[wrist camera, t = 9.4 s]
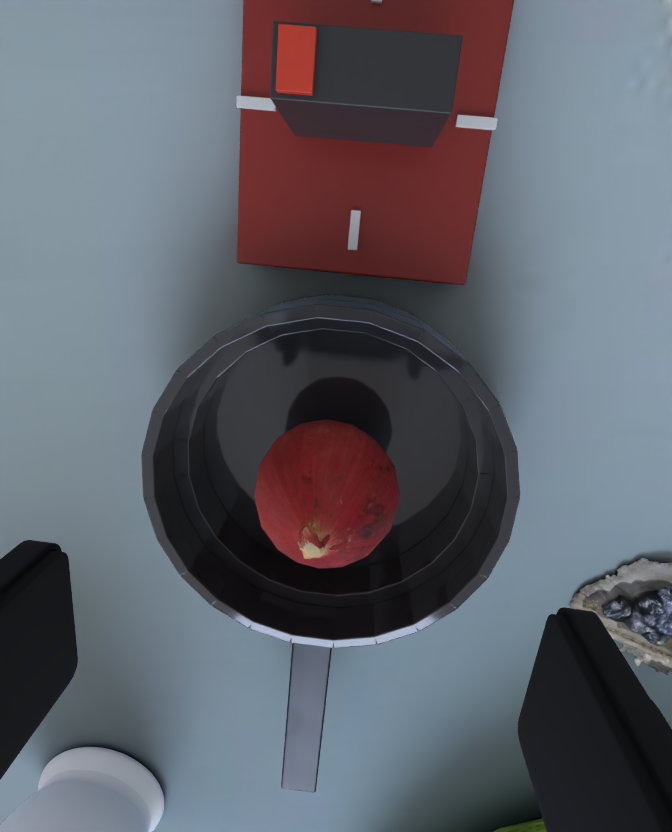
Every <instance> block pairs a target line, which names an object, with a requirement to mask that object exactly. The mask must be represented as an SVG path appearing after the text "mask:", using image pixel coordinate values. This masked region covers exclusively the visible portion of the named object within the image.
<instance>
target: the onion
mask: <svg viewBox="0 0 672 832" xmlns="http://www.w3.org/2000/svg"><path fill="white" fill-rule="evenodd" d="M399 497H400V491H399V486H398V481H397V475H396V470H395V465H394V464H393V462H392V461H391V459H390V458H389V456H388V455H387V454H386V453H385V451H384V450H383V449H382V447H381V446H380V445H379V444H378V442H377V441H376V440H375V439H374V438H373V437H371V436H370V435H368V434H367V433H365V432H364V431H362V430H360V429H359V428H357V427H356V426H354V425H353V424H348V423H343V422H339V421H334V420H329V419H325V420H319V421H313V422H307V423H301V424H300V425H298V426H296V427H294V428H293V429H291V430H289V431H288V432H286V433H284V434H282V435H281V436H279V437H278V438H277V440H276V441H275V442H274V443H273V444H272V446H271V447H270V449H269V450H268V452H267V454H266V455H265V457H264V458H263V460H262V461H261V463H260V465H259V470H258V476H257V482H256V487H255V496H254V498H255V502H256V506H257V510H258V515H259V519H260V523H261V527H262V528H263V530H264V531H265V532H266V534H267V535H268V536H269V538H270V539H271V540H272V542H273V543H274V545H275V546H276V548H277V549H278V550H279V551H281V552H282V553H284V554H285V555H287V556H288V557H290V558H291V559H293V560H294V561H296V562H297V563H301V564H304V565H308V566H312V567H316V568H319V569H320V568H336V567H343V566H346V565H348V564H351V563H353V562H355V561H358V560H360V559H362V558H364V557H366V556H368V555H369V554H370V553H371V551H372V550H373V549H374V548H375V547H376V546H377V545H378V544H379V543H380V542H381V540H382V539H383V538H384V537H385V536H386V535H387V533H388V532H389V531H390V529H391V526H392V522H393V519H394V516H395V513H396V510H397V507H398V503H399Z"/></svg>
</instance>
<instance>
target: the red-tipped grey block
mask: <svg viewBox="0 0 672 832" xmlns="http://www.w3.org/2000/svg"><path fill="white" fill-rule="evenodd" d="M462 42H463V36H462V35H450V34H437V33H424V32H412V31H399V30H386V29H373V28H360V27H347V26H334V25H321V24H309V23H296V22H283V21H273V33H272V58H271V84H270V99H271V100H272V102H273V103H274V105H275V106H276V108H277V109H278V111H279V113H280V114H281V116H282V117H283V119H284V120H285V122H286V123H287V125H288V126H289V128H290V129H291V131H292V132H293V134H294V135H295V136H306V137H318V138H330V139H341V140H353V141H364V142H376V143H388V144H399V145H411V146H422V147H433V145H434V143H435V141H436V140H437V138H438V136H439V134H440V133H441V131H442V129H443V128H444V126H445V124H446V122H447V121H448V119H449V117H450V116H451V114H452V111H453V104H454V97H455V90H456V83H457V76H458V69H459V62H460V55H461V48H462Z"/></svg>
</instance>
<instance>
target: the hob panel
mask: <svg viewBox="0 0 672 832" xmlns="http://www.w3.org/2000/svg"><path fill="white" fill-rule="evenodd" d="M513 4H514V0H244V4H243V44H242V85H241V96H239V95H237V108H241V125H240V165H239V206H238V246H237V262H238V263H244V264H254V265H264V266H274V267H284V268H294V269H304V270H314V271H325V272H335V273H345V274H355V275H365V276H375V277H385V278H395V279H406V280H416V281H426V282H436V283H446V284H456V285H465V283H466V277H467V271H468V265H469V259H470V254H471V248H472V242H473V236H474V230H475V225H476V219H477V213H478V207H479V201H480V195H481V190H482V184H483V178H484V172H485V166H486V161H487V155H488V149H489V143H490V137H491V132H492V130H496V127H497V121H498V118H494V114H495V108H496V102H497V97H498V91H499V85H500V79H501V73H502V68H503V62H504V56H505V50H506V44H507V38H508V33H509V27H510V21H511V15H512V9H513ZM273 21H283V22H296V23H309V24H321V25H334V26H347V27H360V28H373V29H386V30H399V31H412V32H424V33H437V34H450V35H462V36H463V42H462V48H461V55H460V62H459V69H458V76H457V83H456V90H455V97H454V104H453V111H452V114H451V116H450V117H449V119H448V121H447V122H446V124H445V126H444V128H443V129H442V131H441V133H440V134H439V136H438V138H437V140H436V141H435V143H434V145H433V147H422V146H411V145H399V144H388V143H376V142H364V141H353V140H341V139H330V138H318V137H306V136H295V135H294V134H293V132H292V131H291V129H290V128H289V126H288V125H287V123H286V122H285V120H284V119H283V117H282V116H281V114H280V113H279V111H278V109H277V108H276V106H275V105H274V103H273V102H272V100H271V99H270V84H271V58H272V33H273Z"/></svg>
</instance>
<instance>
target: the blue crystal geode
mask: <svg viewBox="0 0 672 832" xmlns="http://www.w3.org/2000/svg"><path fill="white" fill-rule="evenodd" d="M617 571H618V575H617V576H615V575H612V577H609V575H606V579H604V580H599V582H598V581H595V583H593V584H592V585H586V586H585V587H584V588H582V589H580V593H579V594H577V593H576V594H574V596H575V597H573V602H571V604H570V605H571V607H573V609H579V610H587V611H593V612H595V613H596V614H597V615H598V616H599V618H600V619H601V621H602V623H603V624H604V626H605V627H606V629H607V631H608V632H609V634H610V635H611V637H612V639H615V640H617V641H619V643H623V647H624V648H622V649H621V650H620V651H621V652H624V651H625V650H626V649H627V651H629V653H631V652H632V655H634V656H637V658H636V659H634V660H635V663H636V665H637V666H638V665H640V664H641V662H642V661H644V662H646V664H648V666H649V667H650V666H651V667H653V669H654V668H655V671H656V672H659V671H660V672H664V673H665V674H666V675H668V672H669V671H671V672H672V563H671V562H669V563H661V564H659V562H650V561H648V559H644V558H641V560H638V562H636V561H635V562H634V563H633V564H630V566H628V565H627V566H626V565H623V566H622V567H621V568H619V569H617ZM629 653H628V654H629ZM638 667H639V666H638Z"/></svg>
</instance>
